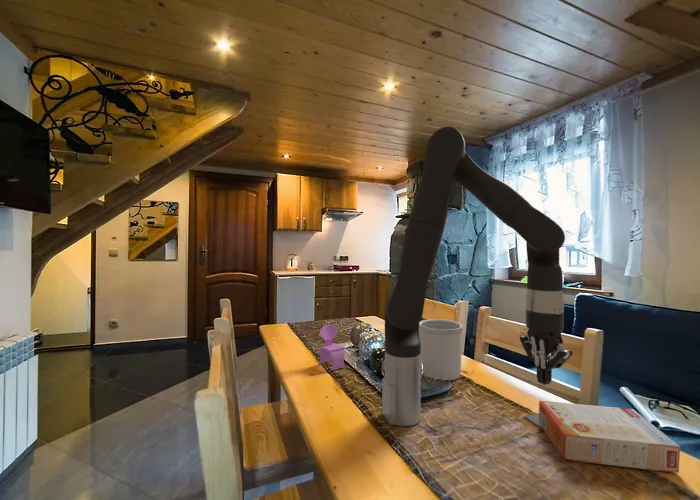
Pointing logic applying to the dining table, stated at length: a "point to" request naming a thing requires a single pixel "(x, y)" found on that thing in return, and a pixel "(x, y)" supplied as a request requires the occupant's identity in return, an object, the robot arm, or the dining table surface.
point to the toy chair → (331, 348)
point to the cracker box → (608, 436)
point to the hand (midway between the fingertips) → (544, 383)
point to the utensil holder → (441, 348)
